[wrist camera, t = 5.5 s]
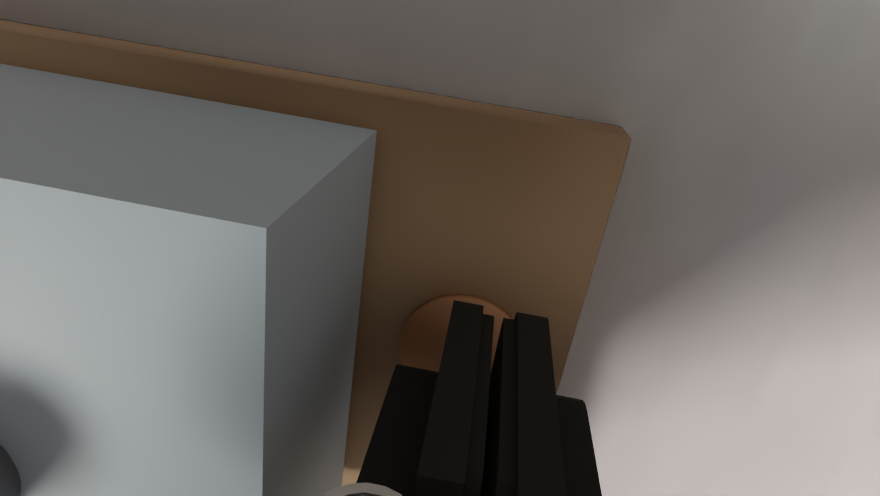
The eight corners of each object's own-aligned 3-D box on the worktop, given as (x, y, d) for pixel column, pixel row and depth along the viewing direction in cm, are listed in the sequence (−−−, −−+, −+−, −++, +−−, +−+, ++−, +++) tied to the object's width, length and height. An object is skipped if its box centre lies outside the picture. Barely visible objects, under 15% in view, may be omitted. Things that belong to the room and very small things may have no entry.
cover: (-84, 48, 9) (-726, 94, 4) (376, 130, 9) (210, 277, 4) (3, 413, 13) (-313, 664, 8) (341, 486, 12) (227, 800, 7)
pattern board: (-168, -10, 10) (-248, -12, 9) (621, 126, 10) (634, 141, 9) (-59, 371, 14) (-107, 402, 13) (516, 493, 13) (516, 536, 12)
